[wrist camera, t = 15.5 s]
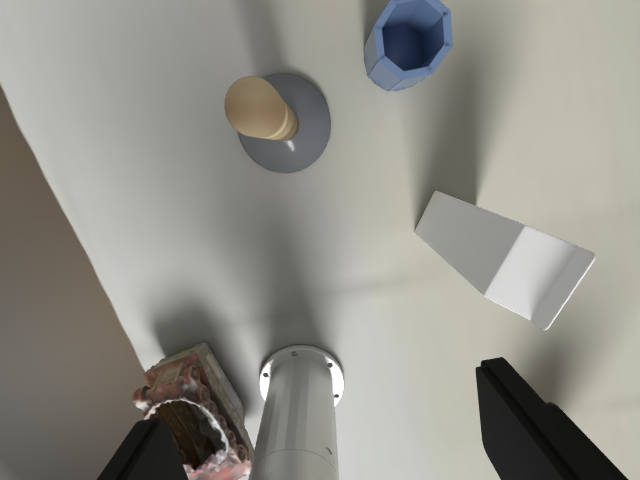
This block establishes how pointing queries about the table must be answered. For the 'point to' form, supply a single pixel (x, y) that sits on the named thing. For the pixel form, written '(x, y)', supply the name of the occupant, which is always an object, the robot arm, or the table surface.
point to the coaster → (309, 135)
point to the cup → (407, 43)
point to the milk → (505, 257)
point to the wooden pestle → (260, 110)
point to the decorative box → (199, 414)
